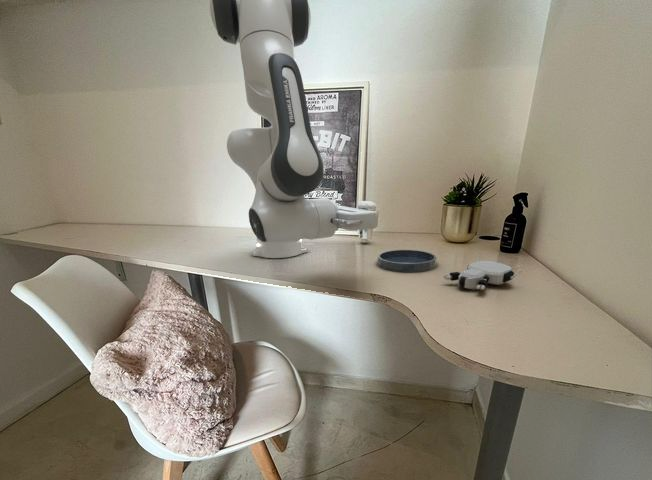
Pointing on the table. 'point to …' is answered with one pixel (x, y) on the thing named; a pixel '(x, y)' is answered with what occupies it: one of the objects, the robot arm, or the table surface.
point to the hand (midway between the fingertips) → (370, 213)
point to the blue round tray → (407, 260)
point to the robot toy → (482, 275)
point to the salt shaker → (370, 206)
